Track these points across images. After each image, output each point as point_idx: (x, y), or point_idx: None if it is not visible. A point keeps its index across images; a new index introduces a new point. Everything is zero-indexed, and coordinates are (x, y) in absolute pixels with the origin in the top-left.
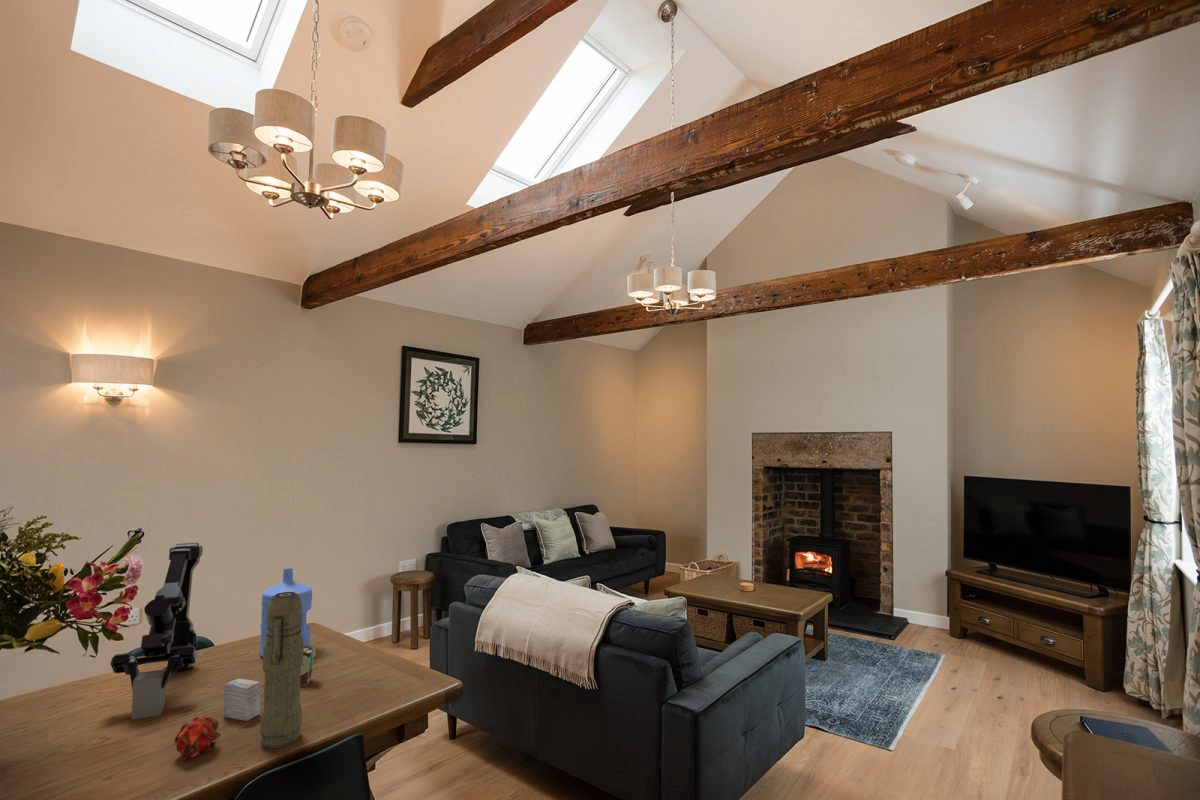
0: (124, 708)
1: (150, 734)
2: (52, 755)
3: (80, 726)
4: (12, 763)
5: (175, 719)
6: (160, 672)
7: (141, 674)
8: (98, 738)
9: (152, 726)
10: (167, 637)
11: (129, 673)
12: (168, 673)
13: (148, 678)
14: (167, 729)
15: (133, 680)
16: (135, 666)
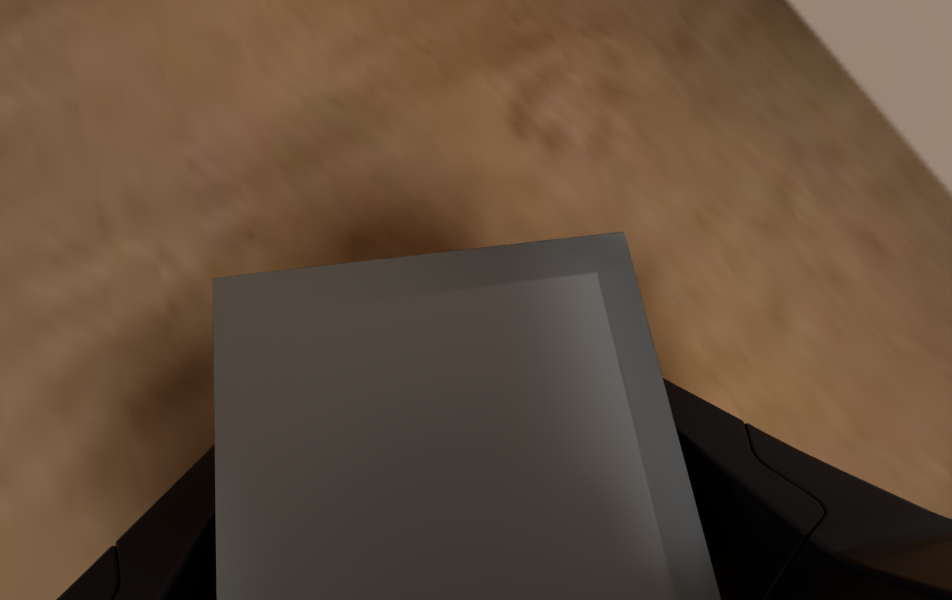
0: None
1: (309, 99)
2: (677, 29)
3: (762, 321)
4: (790, 13)
5: (217, 265)
6: (294, 572)
7: (643, 530)
8: (569, 135)
9: (335, 200)
10: None
11: (865, 484)
12: (133, 540)
13: (414, 260)
14: (230, 133)
15: (623, 237)
16: (949, 592)
